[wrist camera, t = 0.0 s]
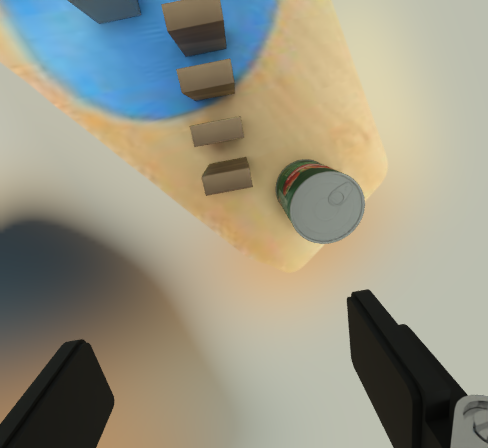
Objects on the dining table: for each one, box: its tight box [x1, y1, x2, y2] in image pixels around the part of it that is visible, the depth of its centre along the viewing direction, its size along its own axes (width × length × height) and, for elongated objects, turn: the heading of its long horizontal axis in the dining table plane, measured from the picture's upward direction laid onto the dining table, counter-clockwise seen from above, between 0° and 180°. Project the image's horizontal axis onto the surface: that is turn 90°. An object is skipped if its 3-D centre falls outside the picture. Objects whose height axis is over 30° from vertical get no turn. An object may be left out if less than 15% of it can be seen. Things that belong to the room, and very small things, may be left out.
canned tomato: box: [276, 160, 365, 244], centre depth 35 cm, size 8×8×11 cm
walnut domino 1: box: [161, 0, 226, 57], centre depth 29 cm, size 2×5×10 cm, turn 101°
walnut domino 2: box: [176, 59, 234, 101], centre depth 31 cm, size 2×5×10 cm, turn 100°
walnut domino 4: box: [202, 157, 253, 196], centre depth 34 cm, size 2×5×10 cm, turn 100°
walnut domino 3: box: [190, 116, 244, 147], centre depth 33 cm, size 2×5×10 cm, turn 100°
